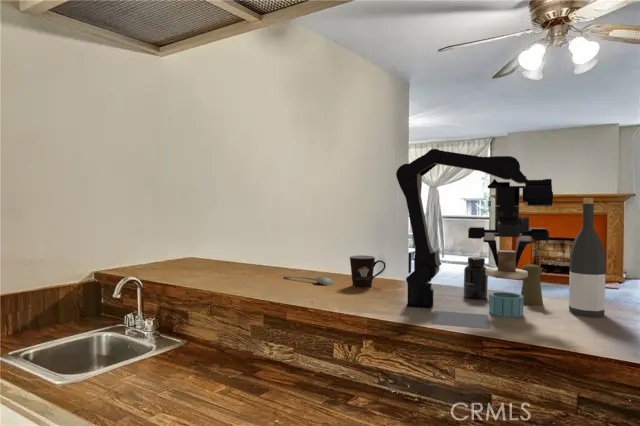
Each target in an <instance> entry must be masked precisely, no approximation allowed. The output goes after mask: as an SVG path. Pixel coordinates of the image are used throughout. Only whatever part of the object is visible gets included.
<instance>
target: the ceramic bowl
mask: <svg viewBox="0 0 640 426" xmlns="http://www.w3.org/2000/svg"><path fill="white" fill-rule="evenodd" d="M488 295H489V296H488V312H489V314H492V315H494V316H498V317H503V318H519V317H520V318H521V317H523V316H524V305H525V304H524V297H523V295H521V293H515V292H508V291H492V292H489V293H488Z"/></svg>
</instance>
